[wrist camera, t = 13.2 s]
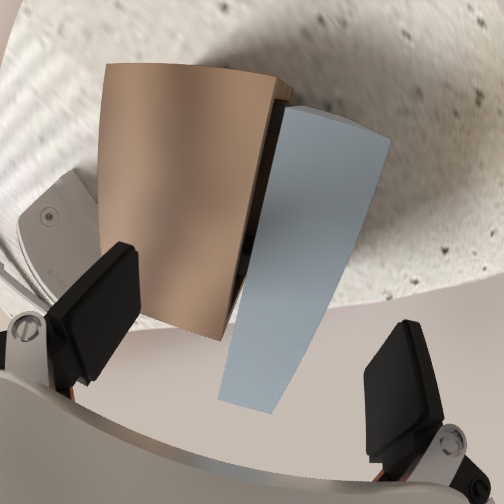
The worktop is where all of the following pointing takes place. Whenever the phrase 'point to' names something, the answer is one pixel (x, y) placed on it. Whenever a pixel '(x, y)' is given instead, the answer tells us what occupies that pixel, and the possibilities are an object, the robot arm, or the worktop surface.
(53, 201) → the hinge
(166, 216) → the cabinet
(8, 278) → the caliper
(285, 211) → the door
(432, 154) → the worktop surface
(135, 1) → the worktop surface
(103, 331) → the robot arm
